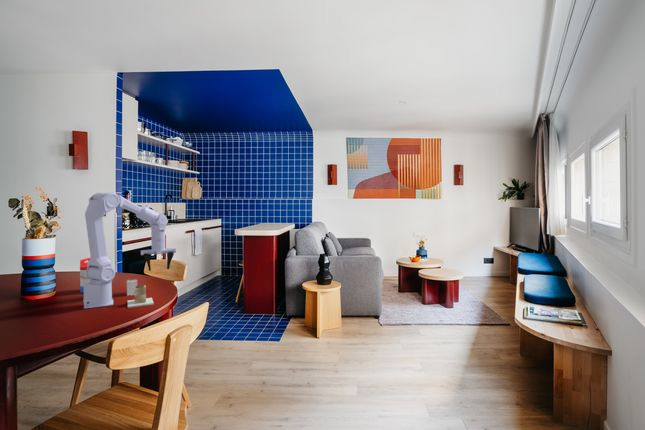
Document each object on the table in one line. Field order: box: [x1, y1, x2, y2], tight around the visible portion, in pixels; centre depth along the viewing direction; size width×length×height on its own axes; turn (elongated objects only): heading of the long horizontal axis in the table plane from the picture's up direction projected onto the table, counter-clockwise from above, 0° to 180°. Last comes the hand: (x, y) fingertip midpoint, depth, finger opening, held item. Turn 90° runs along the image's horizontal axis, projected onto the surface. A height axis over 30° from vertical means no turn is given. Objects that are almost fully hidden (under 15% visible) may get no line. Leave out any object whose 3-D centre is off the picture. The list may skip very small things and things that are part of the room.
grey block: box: [126, 278, 138, 297], centre depth 158 cm, size 4×4×6 cm
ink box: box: [79, 257, 91, 294], centre depth 164 cm, size 8×5×15 cm, turn 179°
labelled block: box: [134, 284, 147, 304], centre depth 144 cm, size 4×4×6 cm
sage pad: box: [127, 297, 155, 309], centre depth 144 cm, size 9×9×1 cm
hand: (159, 269), depth 165 cm, fingers open, 7 cm apart
